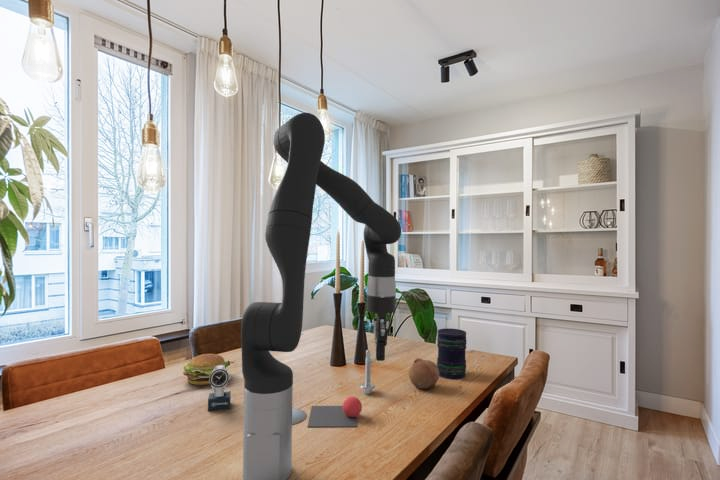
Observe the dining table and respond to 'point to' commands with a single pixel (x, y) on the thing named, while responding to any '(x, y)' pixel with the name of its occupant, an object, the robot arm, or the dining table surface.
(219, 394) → the watch
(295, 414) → the disc
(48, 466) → the dining table surface
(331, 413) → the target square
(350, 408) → the ball
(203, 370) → the food
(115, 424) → the dining table surface
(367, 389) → the screw
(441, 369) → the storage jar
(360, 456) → the dining table surface
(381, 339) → the robot arm
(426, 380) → the onion
